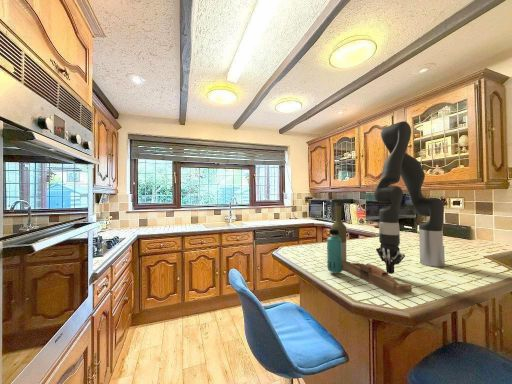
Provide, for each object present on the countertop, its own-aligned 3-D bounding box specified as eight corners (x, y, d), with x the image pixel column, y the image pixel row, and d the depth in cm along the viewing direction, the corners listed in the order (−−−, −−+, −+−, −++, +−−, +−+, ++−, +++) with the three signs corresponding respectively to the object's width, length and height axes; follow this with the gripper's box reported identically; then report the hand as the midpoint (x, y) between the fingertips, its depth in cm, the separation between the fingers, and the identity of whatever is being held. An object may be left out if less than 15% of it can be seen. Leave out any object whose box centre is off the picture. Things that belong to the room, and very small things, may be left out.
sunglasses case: (402, 286, 84) (392, 271, 84) (386, 295, 84) (376, 280, 85) (382, 270, 101) (374, 258, 102) (368, 278, 102) (360, 265, 103)
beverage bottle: (342, 271, 100) (341, 228, 100) (343, 277, 94) (342, 230, 94) (327, 270, 102) (326, 227, 102) (327, 275, 96) (326, 230, 96)
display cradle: (357, 267, 105) (357, 255, 106) (412, 292, 78) (411, 275, 78) (342, 269, 103) (342, 256, 103) (393, 294, 76) (392, 277, 76)
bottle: (349, 266, 107) (348, 205, 107) (341, 269, 103) (340, 206, 103) (337, 263, 112) (336, 205, 113) (328, 266, 108) (327, 206, 109)
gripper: (410, 234, 88) (411, 277, 87) (383, 229, 101) (384, 267, 100) (395, 235, 86) (396, 279, 86) (370, 230, 99) (371, 269, 98)
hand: (390, 273), depth 93 cm, fingers closed
